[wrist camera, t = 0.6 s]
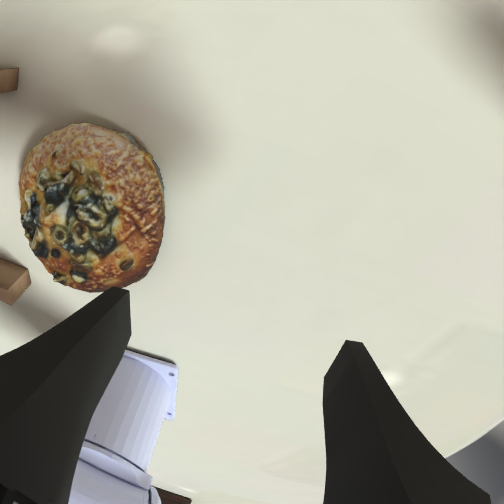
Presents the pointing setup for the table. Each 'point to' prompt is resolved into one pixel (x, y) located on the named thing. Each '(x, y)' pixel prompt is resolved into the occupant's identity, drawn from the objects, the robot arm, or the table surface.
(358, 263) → the table surface
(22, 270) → the roll holder
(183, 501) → the manual coffee grinder
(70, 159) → the bread roll
